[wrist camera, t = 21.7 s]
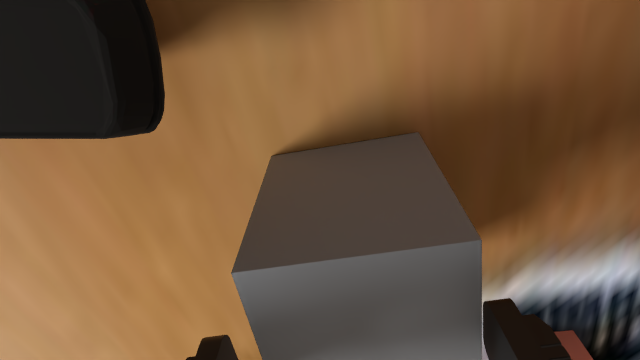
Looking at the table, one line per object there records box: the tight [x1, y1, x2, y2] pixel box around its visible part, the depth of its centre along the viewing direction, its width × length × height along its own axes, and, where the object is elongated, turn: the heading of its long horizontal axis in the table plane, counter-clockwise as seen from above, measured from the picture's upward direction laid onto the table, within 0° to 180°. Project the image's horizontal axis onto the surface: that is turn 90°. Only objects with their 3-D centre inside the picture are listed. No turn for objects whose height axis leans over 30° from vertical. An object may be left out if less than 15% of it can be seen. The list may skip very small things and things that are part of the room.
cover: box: [231, 132, 482, 360], centre depth 15 cm, size 7×7×8 cm
